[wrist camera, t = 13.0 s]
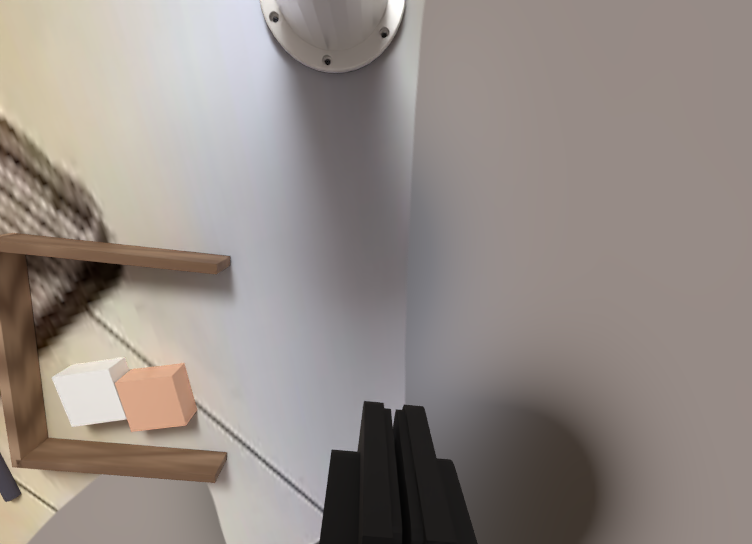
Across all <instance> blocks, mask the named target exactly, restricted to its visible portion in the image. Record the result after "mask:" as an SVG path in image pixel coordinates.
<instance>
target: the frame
mask: <svg viewBox="0 0 752 544" xmlns="http://www.w3.org/2000/svg"><path fill="white" fill-rule="evenodd" d="M25 254H27V255H37V256H46V257H56V258H65V259H75V260H84V261H94V262H103V263H113V264H123V265H132V266H142V267H151V268H161V269H170V270H180V271H189V272H199V273H209V274H218V273H220V272H221V271H223V270H224V269H226V268H227V267H229V266H230V256H224V255H215V254H205V253H196V252H187V251H177V250H168V249H159V248H149V247H140V246H131V245H121V244H112V243H103V242H93V241H84V240H75V239H65V238H56V237H47V236H37V235H28V234H19V233H9V234H3V235H0V390H1V397H2V403H3V410H4V416H5V423H6V429H7V436H8V442H9V449H10V455H11V462H12V467H17V468H30V469H43V470H55V471H68V472H81V473H94V474H108V475H120V476H133V477H146V478H159V479H172V480H187V481H198V482H211V483H215V482H216V480H217V478H218V476H219V474H220V472H221V470H222V468H223V466H224V464H225V462H226V460H227V452H216V451H204V450H192V449H179V448H167V447H155V446H142V445H130V444H118V443H106V442H93V441H81V440H69V439H56V438H48V434H47V426H46V418H45V410H44V401H43V393H42V385H41V377H40V369H39V361H38V352H37V344H36V336H35V328H34V320H33V312H32V303H31V295H30V287H29V279H28V271H27V263H26V255H25Z"/></svg>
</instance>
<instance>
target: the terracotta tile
mask: <svg viewBox="0 0 752 544" xmlns="http://www.w3.org/2000/svg"><path fill="white" fill-rule="evenodd" d="M115 385H116V388H117V391H118V394H119V397H120V400H121V403H122V406H123V409H124V412H125V415H126V418H127V420H128V423H129V426H130V429H131V432H133V431H142V430H151V429H160V428H168V427H177V426H186V425H187V423H188V422H189V421H190V419H191V418H192V417H193V415H194V414H195V412H196V411H197V407H196V404H195V400H194V397H193V393H192V389H191V386H190V382H189V378H188V375H187V371H186V368H185V364H184V363H181V364H173V365H164V366H156V367H147V368H139V369H131V370H130V371H128V372H127V373H126V374H125V375H124V376H122V377H121V378H120V379H119V380H118V381H116V382H115Z"/></svg>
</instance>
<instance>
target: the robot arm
mask: <svg viewBox="0 0 752 544" xmlns="http://www.w3.org/2000/svg"><path fill="white" fill-rule="evenodd" d="M405 2H406V0H260V4H261V9H262V12H263V15H264V17H265V20H266V22H267V25H268V27H269V28H270V30H271V32H272V33H273V35H274V36H275V38H276V40H277V41H278V42H279V43H280V45H281V46H282V47H283V48H284V49H285V50H286V51H287V52H288V53H289V54H290V55H291V56H292V57H293V58H294V59H296V60H297V61H299V62H300V63H302V64H304V65H305V66H308V67H310V68H312V69H315V70H317V71H323V72H328V73H345V72H349V71H353V70H357V69H359V68H361V67H363V66H365V65H367V64H369V63H371V62H372V61H373V60H375V59H376V58H377V57H379V56H380V55H381V54H382V52H383V51H384V50H385V49H386V48H387V47H388V46H389V44H390V43H391V41H392V40H393V38H394V36H395V35H396V33H397V30H398V28H399V25H400V23H401V20H402V17H403V12H404V9H405ZM275 18H278V19H279V21H278V22H277V23H274V19H275ZM383 33H385V34H386V35H387V37H386V38H382V36H381V34H383ZM327 60H330V61H331V63H330V65H326V64H325V62H326V61H327ZM319 544H477V540H476V537H475V534H474V530H473V527H472V523H471V520H470V517H469V513H468V510H467V507H466V503H465V500H464V496H463V493H462V490H461V487H460V483H459V480H458V476H457V473H456V470H455V466H454V464H453V462H452V461H451V460H448V459H437V458H436V454H435V451H434V446H433V442H432V438H431V434H430V429H429V426H428V421H427V417H426V413H425V409H424V407H423V406H412V405H404V406H403V409H402V410H397V409H396V412H395V417H394V424H393V427H392V416H391V409H386V408H384V403H380V402H369V401H364V404H363V412H362V420H361V428H360V436H359V444H358V452H354V451H342V450H332V451H331V459H330V466H329V474H328V482H327V489H326V497H325V505H324V512H323V520H322V528H321V535H320V543H319Z"/></svg>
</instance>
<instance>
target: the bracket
mask: <svg viewBox="0 0 752 544" xmlns="http://www.w3.org/2000/svg"><path fill="white" fill-rule="evenodd" d="M0 493H1V495H2V497H3V499H4V501H5V502H7V501H11V500H13V499H15V498H16V497H18V496H19V495H20V494H21V492H20V490H19V488H18V486H17V484H16V482H15V480H14V478H13V476H12V474H11V472H10V471H9V469H8V467H7V465H6V463H5V461H4V459H3V457H2V455H1V453H0Z"/></svg>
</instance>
